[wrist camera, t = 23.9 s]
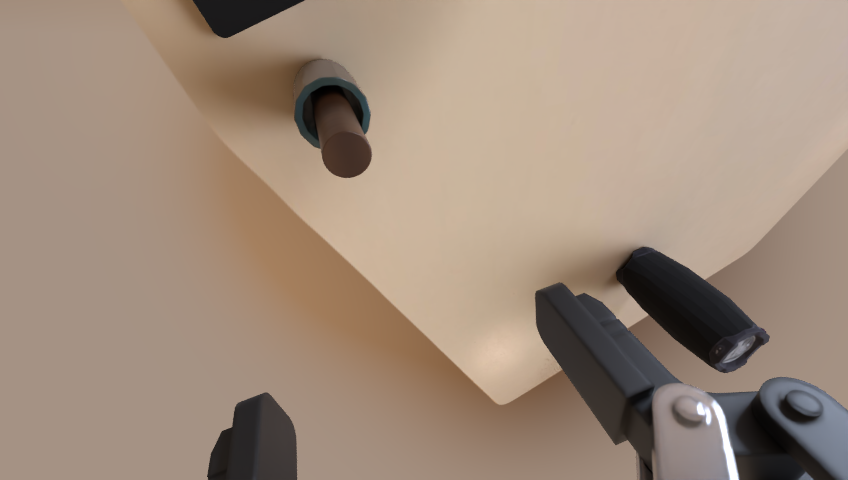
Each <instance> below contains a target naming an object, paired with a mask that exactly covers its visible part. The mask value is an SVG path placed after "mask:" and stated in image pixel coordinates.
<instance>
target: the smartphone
mask: <svg viewBox="0 0 848 480" xmlns="http://www.w3.org/2000/svg"><path fill="white" fill-rule="evenodd" d="M302 1H304V0H193V2H194V3H195V5H196V6H197V8H198V9H199V11H200V12H201V14H202V15H203V17H204V18H205V20H206V21H207V23H208V24H209V26H210V27H211V29H212V30H213V32H214V33H215V34H216V35H218V36H220V37H222V38H228V37H231V36H233V35H235V34H237V33H239V32H241V31H243V30H245V29H247V28H249V27H251V26H253V25H255V24H257V23H259V22H261V21H263V20H265V19H268V18H270V17H272V16H274V15H276V14H278V13H280V12H282V11H284V10H286V9H288V8H290V7H292V6H294V5H296V4H298V3H300V2H302Z"/></svg>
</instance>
